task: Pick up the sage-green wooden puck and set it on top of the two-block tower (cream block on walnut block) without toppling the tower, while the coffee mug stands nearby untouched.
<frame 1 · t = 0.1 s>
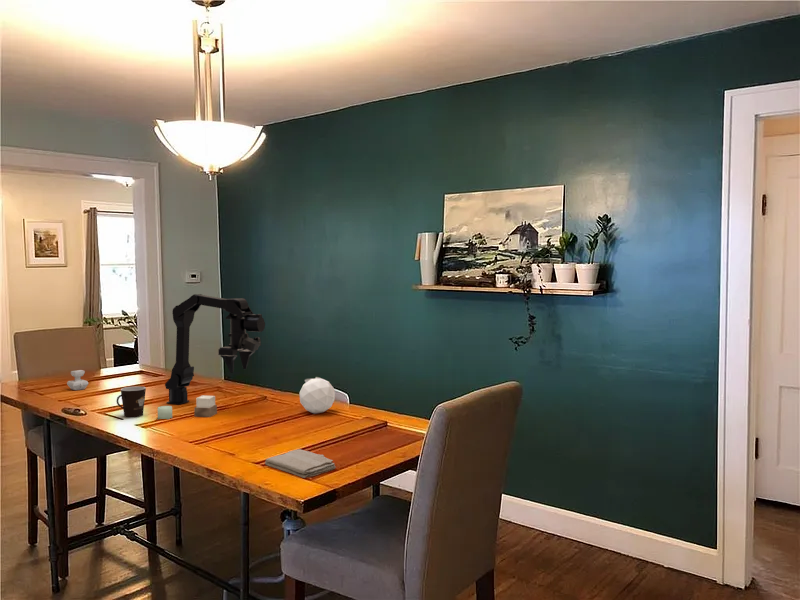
hand: (238, 370, 247), 15 cm above the table, tool pointing down, fingers open, 9 cm apart
coffee mug: (129, 416, 233), on the table
tower top block: (205, 406, 236), point 3 cm above the table, touching tower base block
geodesic sphere: (317, 412, 241), on the table
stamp: (77, 389, 282), on the table
washcloth: (300, 468, 176), on the table
tower base block: (205, 415, 236), on the table, touching tower top block
puck: (165, 418, 231), on the table
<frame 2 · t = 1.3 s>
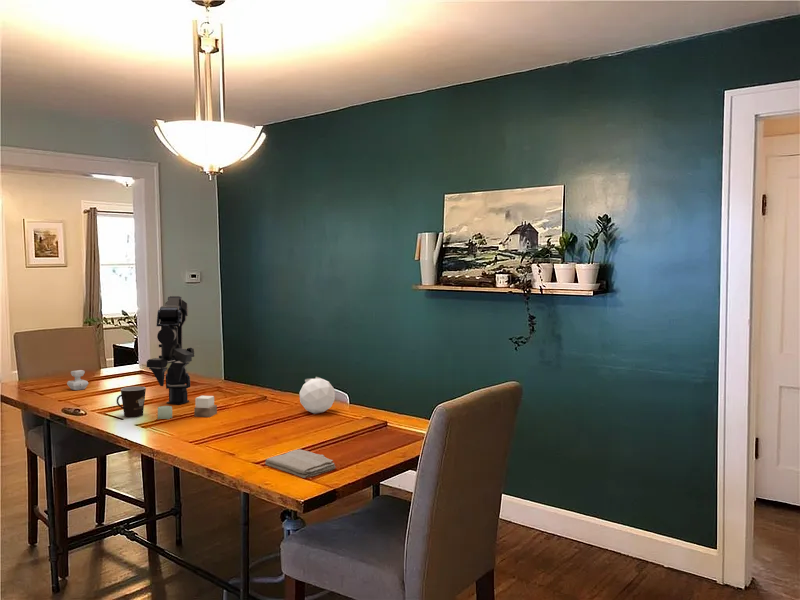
hand: (170, 383, 231), 12 cm above the table, tool pointing down, fingers open, 9 cm apart
nothing on the table moved.
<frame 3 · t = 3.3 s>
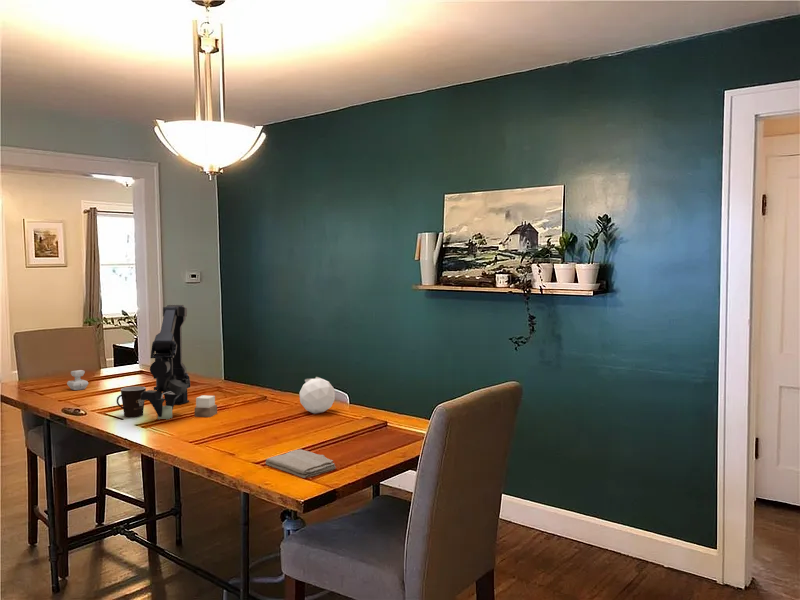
hand: (165, 415, 231), 1 cm above the table, tool pointing down, fingers closed on puck, 5 cm apart
tower top block: (205, 406, 236), point 3 cm above the table
tower base block: (206, 415, 236), on the table
puck: (165, 418, 231), on the table, touching gripper
everything else where it was.
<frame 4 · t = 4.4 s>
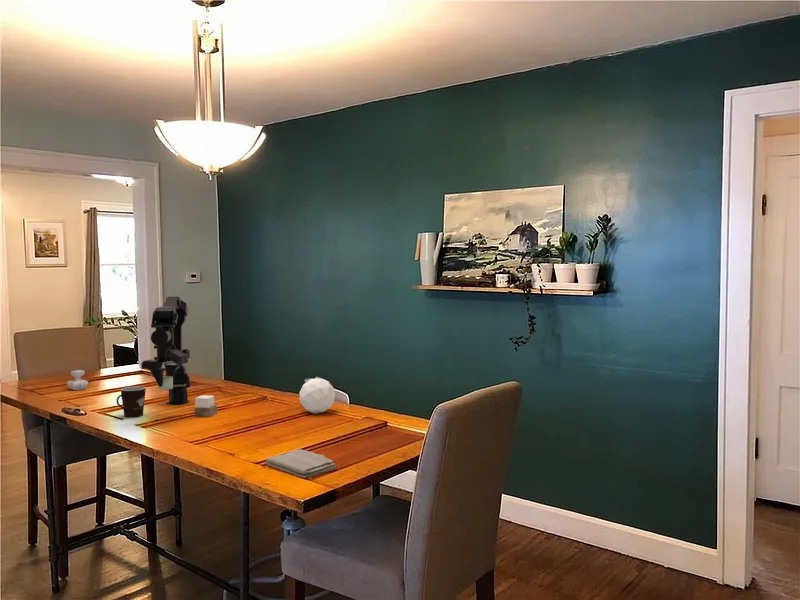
hand: (165, 385, 230), 12 cm above the table, tool pointing down, fingers closed on puck, 5 cm apart
tower top block: (204, 406, 236), point 3 cm above the table, touching tower base block
tower base block: (205, 415, 236), on the table, touching tower top block
puck: (165, 388, 230), point 11 cm above the table, touching gripper
everything else where it was.
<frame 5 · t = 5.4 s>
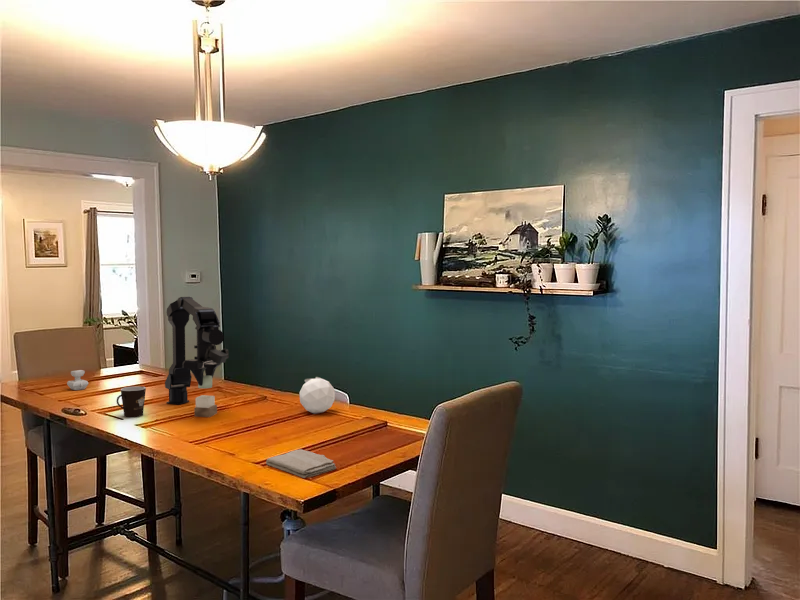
hand: (205, 384, 235), 11 cm above the table, tool pointing down, fingers closed on puck, 5 cm apart
puck: (205, 387, 235), point 10 cm above the table, touching gripper
everything else where it was.
when the fingers open (9 cm above the table, at t = 6.0 s): puck drops 2 cm, resting on tower top block.
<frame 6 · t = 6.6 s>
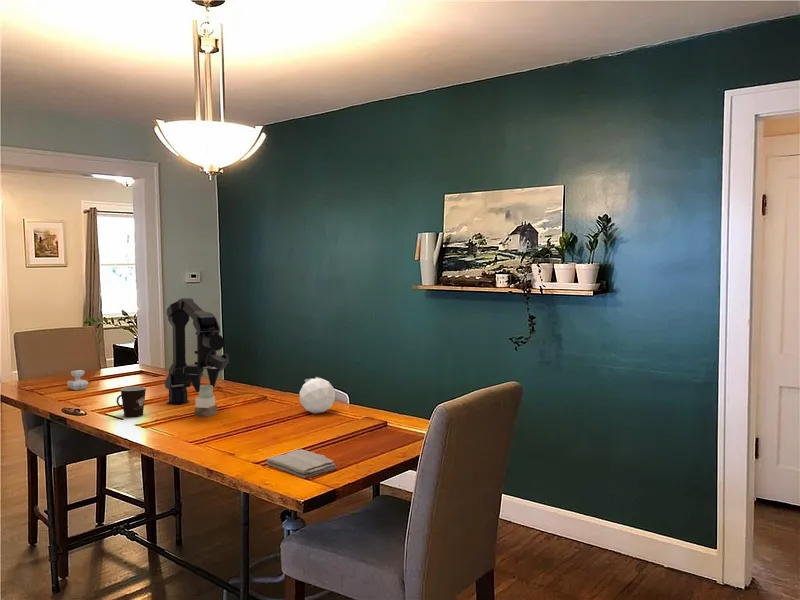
hand: (205, 389, 235), 9 cm above the table, tool pointing down, fingers open, 9 cm apart
tower top block: (205, 406, 236), point 3 cm above the table, touching puck, tower base block
puck: (205, 397, 235), point 7 cm above the table, touching tower top block
everything else where it was.
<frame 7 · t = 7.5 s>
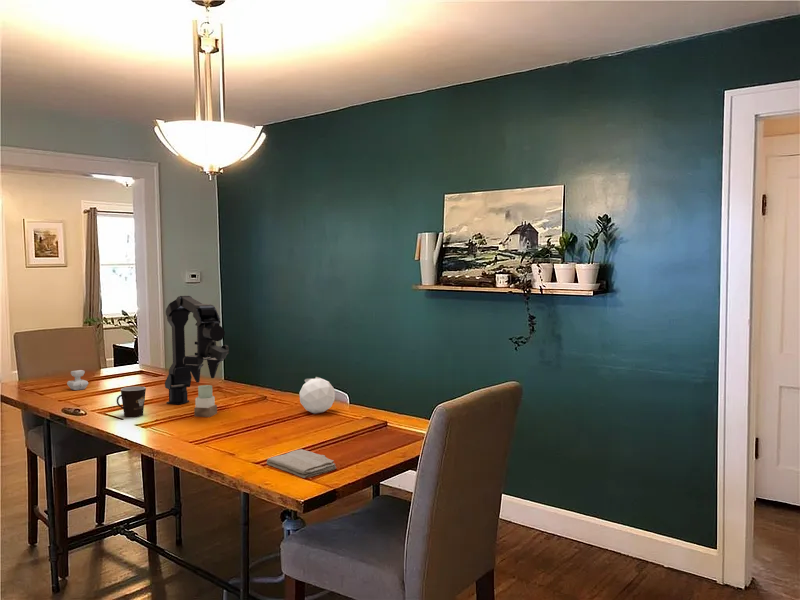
hand: (205, 380, 236), 13 cm above the table, tool pointing down, fingers open, 9 cm apart
nothing on the table moved.
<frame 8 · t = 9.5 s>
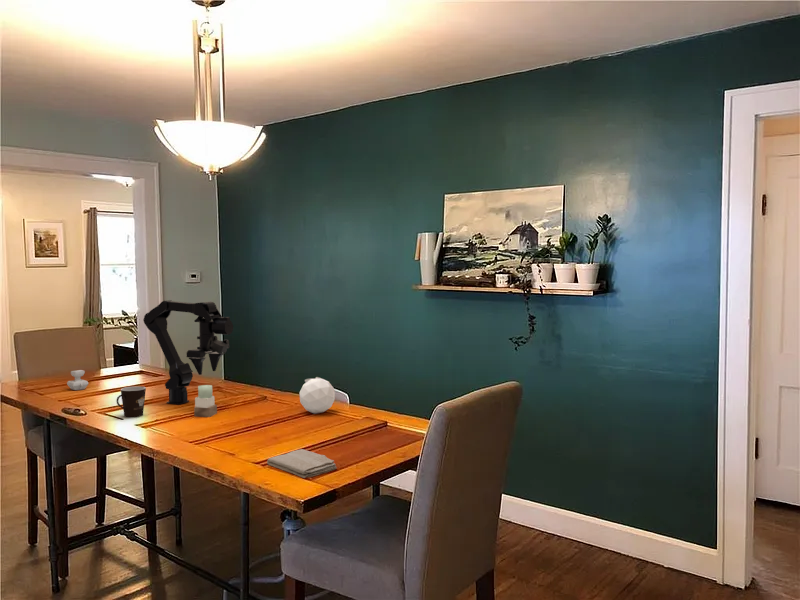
hand: (207, 372, 251), 13 cm above the table, tool pointing down, fingers open, 9 cm apart
nothing on the table moved.
at the end: puck 0.2 cm off-centre on the tower top block, point 3.5 cm above the tower top block's base; tower top block 0.3 cm off-centre on the tower base block, point 3.5 cm above the tower base block's base; tower top block tilted 0° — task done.
